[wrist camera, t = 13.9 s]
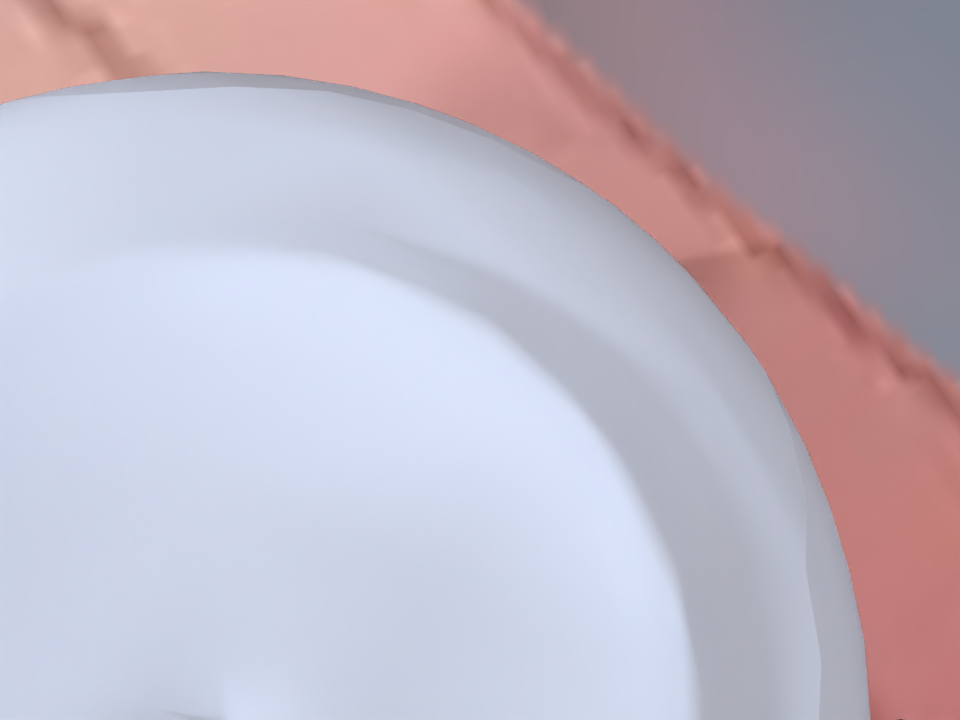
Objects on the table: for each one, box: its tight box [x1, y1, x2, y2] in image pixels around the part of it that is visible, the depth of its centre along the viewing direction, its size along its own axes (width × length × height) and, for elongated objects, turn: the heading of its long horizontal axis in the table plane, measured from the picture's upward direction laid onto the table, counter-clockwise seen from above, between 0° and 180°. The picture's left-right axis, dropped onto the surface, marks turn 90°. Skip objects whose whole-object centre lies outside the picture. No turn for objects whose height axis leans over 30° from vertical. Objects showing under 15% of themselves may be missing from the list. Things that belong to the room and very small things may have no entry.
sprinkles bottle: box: [0, 72, 871, 720], centre depth 9 cm, size 5×5×14 cm
